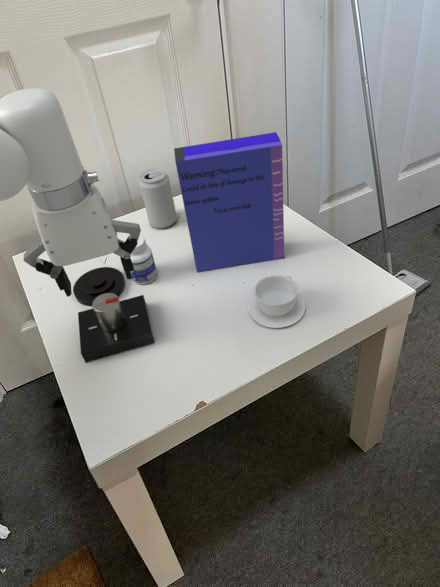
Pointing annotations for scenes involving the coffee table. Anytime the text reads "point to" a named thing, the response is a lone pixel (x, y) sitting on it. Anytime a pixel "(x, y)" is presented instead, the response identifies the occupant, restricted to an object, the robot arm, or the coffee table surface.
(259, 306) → the teacup
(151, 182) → the beverage can
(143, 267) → the pill bottle
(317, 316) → the coffee table surface
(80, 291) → the burner
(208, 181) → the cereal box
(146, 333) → the black angular base
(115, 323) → the hob knob
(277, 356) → the coffee table surface
